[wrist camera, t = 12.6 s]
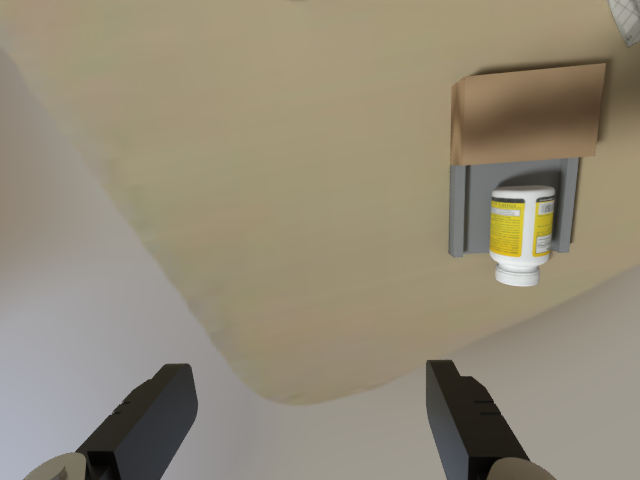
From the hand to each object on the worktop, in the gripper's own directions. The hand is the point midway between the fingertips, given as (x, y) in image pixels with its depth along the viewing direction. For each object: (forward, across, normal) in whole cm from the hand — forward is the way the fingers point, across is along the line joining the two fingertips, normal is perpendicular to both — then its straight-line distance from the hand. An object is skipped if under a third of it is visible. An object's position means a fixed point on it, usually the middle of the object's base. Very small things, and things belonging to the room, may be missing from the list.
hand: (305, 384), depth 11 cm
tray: (+28, -19, -1) cm, 34 cm away
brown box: (+28, -19, -10) cm, 35 cm away
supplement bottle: (+25, -19, -4) cm, 31 cm away
